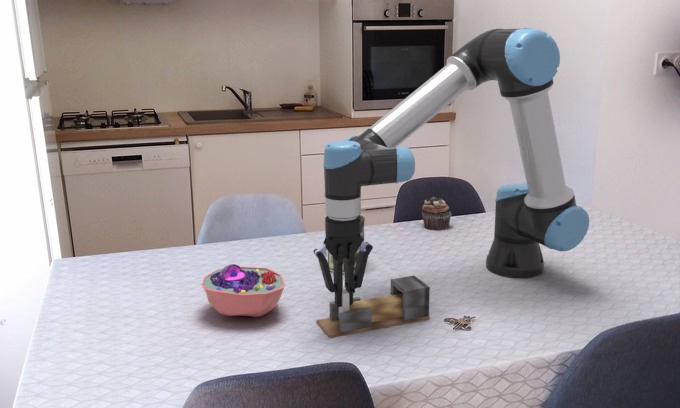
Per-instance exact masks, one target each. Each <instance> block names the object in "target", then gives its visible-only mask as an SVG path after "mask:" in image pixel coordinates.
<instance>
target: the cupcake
mask: <svg viewBox="0 0 680 408" xmlns="http://www.w3.org/2000/svg"><path fill="white" fill-rule="evenodd" d="M421 214H422V220H423V226H424V228H425V229H427V230H429V231H430V230H431V231H444V230H448V229H449V227H450V221H451V216H452V211H450V205H448V204H447V203H446V201H445V200H443V198H442V197H440V196H439V197H437V196H436V195H433V196H432V197H431V198H429V197H428V198H425V199H424V204H423V205H422V207H421Z"/></svg>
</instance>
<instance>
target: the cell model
mask: <svg viewBox="0 0 680 408" xmlns="http://www.w3.org/2000/svg"><path fill="white" fill-rule="evenodd" d="M201 286H202V288H203V290H204V293H205V295H206V298H207V301H208V303H209V304H210V305H211V307H212V308H213V309H214V310H215V311H216V312H217V313H219V314H220V315H223V316H228V317H240V316H241V317H244V316H245V317H252V318H258V317H259V318H260V317H263V316H264V315H266V314H268V313H269V312H270V311H272V310H273V309H274V308H275V307H276V306H277V305H278V304H279V302H280V299H281V297H282V295H283V291H284V288H285V286H286V285H285V279H284V277H283V275H282V274H281V273H279V272H277V271H275V270H273V269H271V268H268V267H255V266H241V265H239V264H238V265H237V264H234V263H232V264H228V265H226V266H224V267H223V268H219V269H217V270H214V271H212V272H211V273H208V274H207V275H205V276H204V277H203V279H202V282H201Z"/></svg>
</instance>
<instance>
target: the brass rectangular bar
mask: <svg viewBox="0 0 680 408" xmlns="http://www.w3.org/2000/svg"><path fill="white" fill-rule="evenodd" d="M364 308H370V309H372V322H376V321H382V320H387V319H393V318H398V317H402V310H403V294H395V295H391V294H390V295H385V296H378V297H372V298H367V299H366V298H365V299H361V300H360V301H354V302H353V304H352V305H349V311H353V310H358V309H364Z"/></svg>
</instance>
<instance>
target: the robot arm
mask: <svg viewBox="0 0 680 408" xmlns="http://www.w3.org/2000/svg"><path fill="white" fill-rule="evenodd" d="M446 59H447V60H446V65H445V66H444V67H442V68H441V69H440V70H438V71H437V72H436V73H434V75H433V76H431V77H429V79H427V80H426V81H425V82H423V84H421V85H420V86H419V87H418V88H416V89H415V90H414V91H413V92H411V93H410V94H409V95H408V96H406V97H405V98H404V99H403V100H402V101H400V102H399V103H398V104H397V105H396V106H395V107H393V108H392V109H390V110H389V111H388V112H387V113H386V114H384V115H383V116H382V117H381V118H379V119H378V120H377V121H376V122H374V124H372V125H371V126H370V127H369V128H367V129H366V130H365V131H363V132H362V133H361V134H360V135H359V136H357V135H355V136H354V135H353V136H349V137H347V138H345V139H344V140H335V141H331V142H328V143H327V144H326V145H325V147H324V153H323V173H324V174H323V175H324V177H323V178H324V179H323V180H324V214H325V218H324V227H325V229H324V230H325V232H324V233H325V238H324V240H323V243H322V244H323V245H321V246H320V247H319V248H315V249H313V254H314V255H315V257H316V258H317V260H318V263H319V267H320V271H321V275H322V277H323V281H324V285H325V287H326V289H327V290H328V292H329V293H334V301H335V305H336V306H337V307H339V313H341V312H347V311H349V305H352V304H353V298H354V293H356V289H360V288H361V287H362V286H363V281H364V276H365V273H366V267H367V263H368V260H369V255H370V254H371V252H372V251H373V248H374V247H373V245H372V244H370V243H369V242H368V241H365V240H364V241H363V239H362V237H361V217H360V216H359V215H361V214H362V199H361V198H362V187H368V186H377V185H388V184H389V185H390V184H398V183H402V182H407V181H410V180H411V179H413V176H414V175H415V171H416V161H415V156H414V153H413V152H412V150H411V149H410V148H409V147H407V146H399V145H401V144H403V143H404V142H405V141H406V140H407V139H408V138H409V137H411V136H412V135H413V134H415V133H416V132H417V131H418V130H419V129H421V128H422V127H423V126H424V125H425V124H426V123H428V122H429V121H431V120H432V118H434V117H435V116H437V114H439V113H441V111H442V110H443V109H445V108H446V107H447V106H449V105H451V103H452V102H453V101H455V100H456V99H457V98H458V97H459V96H461V95H462V94H463V93H464V92H466V91H474V90H475V89H476V88H477V87H478V86H480V85H482V84H483V83H487V82H489V81H497V84H498V89H499V93H500V97H501V98H503V99H505V100H507V101H508V102H509V105H510V111H511V115H512V121H513V124H514V130H515V135H516V139H517V143H518V148H519V153H520V158H521V162H522V167H523V171H524V176H525V177H524V178H525V180H526V181H525V182H526V183H511V184H505V185H502V186H500V187H498V188H497V191H496V197H495V209H494V210H495V213H494V215H495V216H494V231H493V232H494V234H493V235H494V236H493V241H492V243H491V246H490V248H489V251H488V254H487V255H486V259H485V267H486V268H487V270H488V271H490V272H491V273H493V274H496V275H499V276H503V277H508V278H515V279H517V278H518V279H519V278H521V279H524V278H525V279H526V278H533V277H534V278H535V277H537V276H540V275H542V274H543V273H544V271H545V261H544V257H543V253H542V249H541V246H543V247H546V248H548V249H550V250H555V251H557V252H569V251H571V250H573V249H575V248H576V247H577V246H579V245H580V243H582V242H583V240H584V238H585V236H586V235H587V233H588V231H589V227H590V215H589V214H588V212H587V211H586V209H584V208H583V207H582V206H578V205H577V202H576V198H575V192H574V190H573V188H572V187H570V186H568V185H566V180H565V179H566V178H565V174H564V169H563V165H562V159H561V153H560V148H559V143H558V138H557V134H556V127H555V123H554V116H553V112H552V107H551V106H552V105H551V101H550V96H549V91H550V90H551V89H552V87H553V86H554V77H555V76H556V74H557V72H558V67H560V65H561V54H560V50H559V47H558V44H557V42H556V40H555V39H554V38H553V37H552V35H550V34H549V33H548V32H546V31H543V30H541V29H535V28H531V27H523V28H493V29H489V30H487V31H485V32H482V33H481V34H479V35H477V36H475V37H473V38H472V39H471V40H469V41H468V42H467V43H465V44H464V45H462V47H460V48H459V49H457V50H456V51H455V52H454V53H453V54H451V55H450V56H449V57H448V58H446ZM358 249H360V251H359V254H358V258H357V263H356V267H355V272H354V262H355V254H356V252H357V250H358ZM327 250H328V251H329V253H330V254H331V255H332V259H333V272H331V271H330V269H329V265H328V255H327ZM343 259H344V268H345V274H343ZM332 273H333V277H332ZM343 275H344V276H343ZM343 278H344V279H343ZM343 282H344V283H343Z"/></svg>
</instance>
